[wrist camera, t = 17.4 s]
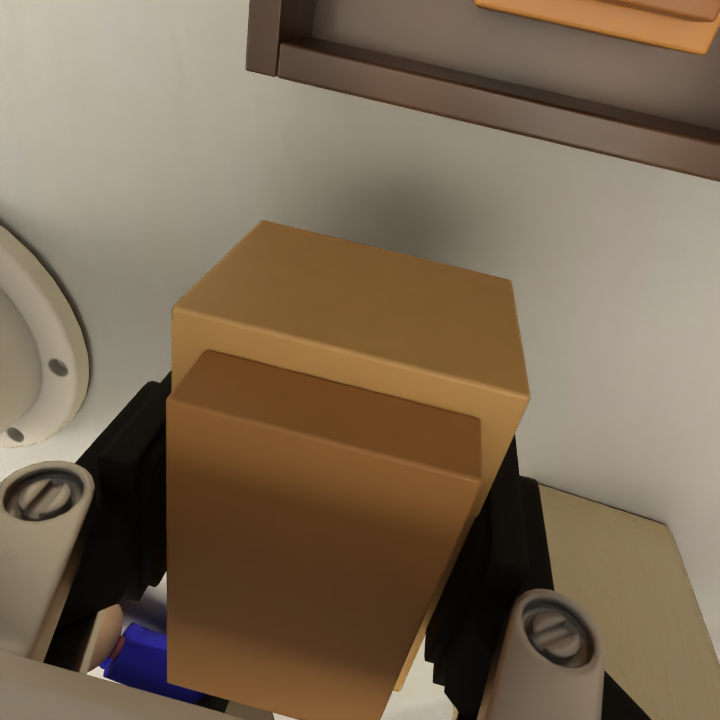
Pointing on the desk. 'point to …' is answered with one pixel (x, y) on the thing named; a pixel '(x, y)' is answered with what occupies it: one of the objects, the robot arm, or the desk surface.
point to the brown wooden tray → (501, 74)
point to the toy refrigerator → (635, 604)
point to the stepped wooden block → (327, 464)
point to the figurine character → (152, 666)
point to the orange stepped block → (626, 19)
